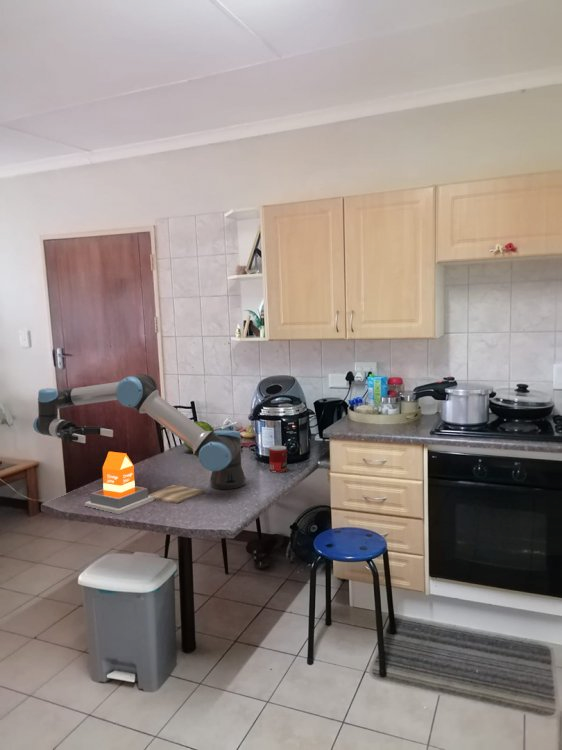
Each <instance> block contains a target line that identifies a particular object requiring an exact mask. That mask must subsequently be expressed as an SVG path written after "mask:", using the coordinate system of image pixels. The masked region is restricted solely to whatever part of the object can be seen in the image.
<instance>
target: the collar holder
mask: <svg viewBox="0 0 562 750" xmlns="http://www.w3.org/2000/svg"><path fill="white" fill-rule="evenodd" d="M148 494H149V488H147V487H142V486H138V485H135V492H134V493H131V494H128V495H126V496H123V497H120V498H116V497H111V496H106V495H104V489H103V488H102V489H99V490H96V491H94V492H91V493H90V495H89V496H90V500H89V501H86V502H84V507H85V506H88V507H92V508H91V509H93V508H96V509H95V510H97V509H100V510H99V511H102V510H104V511H103V512H106V511H108V512H107V513H110V512H112V513H111V514H115V515H121V514H123V513H126V512H128V511H132V510H133V509H135V508H140V507H141V506H143V505H145V504H149V503H152V502H154V501H155V499H154V497H153V496H148ZM153 500H154V501H153ZM88 507H87V508H88Z"/></svg>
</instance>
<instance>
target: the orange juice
mask: <svg viewBox="0 0 562 750" xmlns="http://www.w3.org/2000/svg"><path fill="white" fill-rule="evenodd" d="M134 471H135V467H134V464H133V463H132V461H131V459H130V458H129V456H128V455H127V452H126V453H124V452H115V451H108V453H107V456H106V458H105V461H104V463H103V465H102V483H103V484H102V485H103V486H102V487H103V488H102V489H104V495H106V496H111V497H116V498H120V497H123V496H126V495H128V494H131V493H134V492H135V486H136V484H135V472H134Z"/></svg>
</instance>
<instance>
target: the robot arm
mask: <svg viewBox="0 0 562 750" xmlns="http://www.w3.org/2000/svg"><path fill="white" fill-rule="evenodd" d="M156 381H157V380H155V378H154V377H153V376H151V375H149V374H147V373H141V374H136V375H132V376H131V375H130V376H126V377H125V378H122V379H121V380H120V381H117V382H116V381H115V382H109V383H102V384H93V385H88V386H80V387H75V388H65V389H61V390H57V388H52V387H51V388H41V389H39V390H38V398H37V404H38V405H37V407H38V408H37V409H38V417H36V418H35V419H34V421H33V423H32V424H33V425H32V428H33V430H34V431H35V432H36V433H37V434H41V435H43V436H48V437H49V436H50V437H54V438H57V439H61V441H63V442H67V441H68V443H70V444H71V443H73V442H77V443H82V444H86V435H100V436H105V437H109V438H113V437H114V430H113V429H108V428H107V427H106V426H104V425H102V426H91V425H83V426H80V425H76V423H75V422H73V421H71V420H66V419H61V418H60V419H59V417H58V416H59V410H60V409H62V408H68V407H75V406H81V405H89V404H95V403H102V402H109V401H118V402H119V403H120V404H121V406H123V407H127V408H133V409H134V410H135V411H136V412H138V413H139V414H146V415H148V416H149V417H151V418H152V419H153V420H155V421H156V422H157V423H158V424H160V425H161V426H162V427H164V428H165V429H166V430H168V431H169V432H170V433H172V434H173V435H174V436H175V437H177V438H178V439H179V440H181V441H182V442H183V443H184V442H185V443H186V444H187V445H189V446H190V447H191V448H192V449H193V451H192V452H193V453H192V454H193V455H194V456H195V457H196V458H198V459H199V463H200V465H201V466H202V468H204V469H205V470H206V471H211V475H210V479H209V486H210V487H212V488H214V489H219V490H232V489H233V488H234V489H238V487H239V488H242V487H244V486H245V485H246V484H247V482H246V481H247V480H246V476H245V473H244V470H243V467H242V442H241V441H242V437H241V433H240V431H238V430H228V429H227V430H226V429H225V430H214V432H212V431H205V430H203V429H202V428H201V427H199V426H198V425H197V424H196V423H194V422H195V421H193V420H192V419H190V418H189V417H188V416H187V415H185V414H184V413H182V412H181V411H180V410H179V409H177V408H175V406H174V405H172V404H171V403H169V402H168V401H167V400H166V399H164V398H163V397H162V396H160V391H159V389H158V383H157V382H156ZM243 485H244V486H243Z"/></svg>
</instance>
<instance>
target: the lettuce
mask: <svg viewBox="0 0 562 750" xmlns="http://www.w3.org/2000/svg"><path fill="white" fill-rule="evenodd" d="M193 422H194V423H196V424H197V425H198V426H199V427H201V428H202V429H203V430H205V431H212V432H214V431H215V429H214V427H212V425H211V424H210V423H208V422H206V421H193ZM183 444H184V446H185V447H186V448H187V449H188V450H190V451H191V452H193V449H192V448H191V447H190V446H189V445H187V444H186V443H185V442H183Z"/></svg>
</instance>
